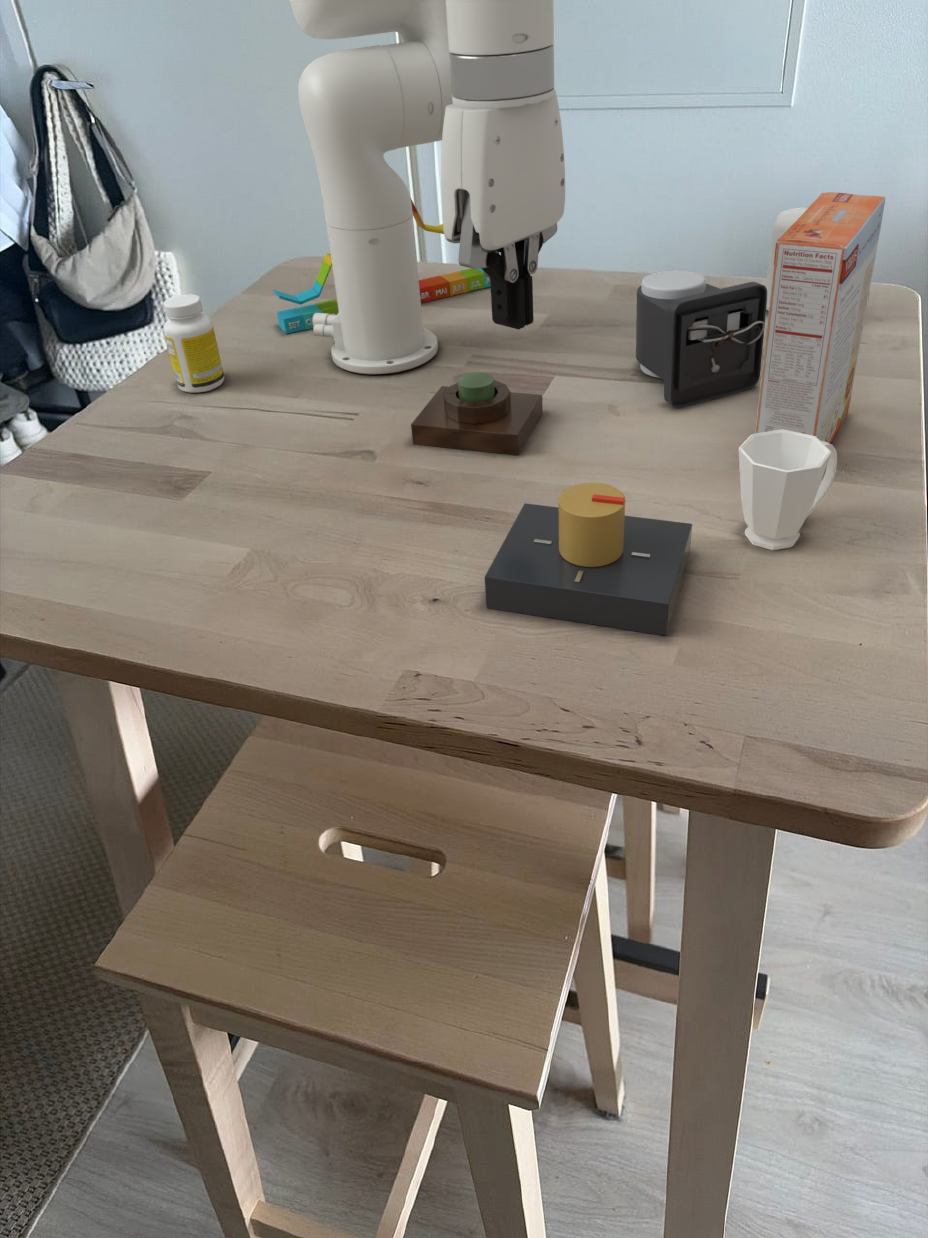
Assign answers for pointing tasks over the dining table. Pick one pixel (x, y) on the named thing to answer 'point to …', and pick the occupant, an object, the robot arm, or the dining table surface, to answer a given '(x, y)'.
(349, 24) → the robot arm
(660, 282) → the light fixture
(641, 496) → the dining table surface
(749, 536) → the cup
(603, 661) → the dining table surface
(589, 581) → the dimmer panel
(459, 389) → the switch
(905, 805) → the dining table surface
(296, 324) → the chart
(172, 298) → the supplement bottle
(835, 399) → the cracker box
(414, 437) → the lamp base
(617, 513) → the dimmer
